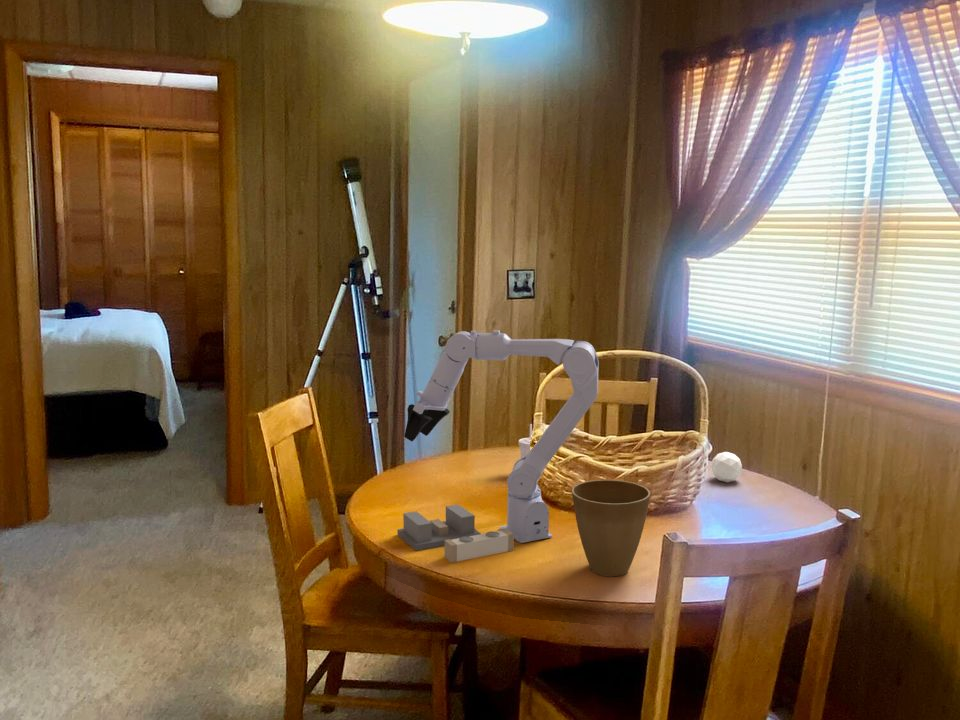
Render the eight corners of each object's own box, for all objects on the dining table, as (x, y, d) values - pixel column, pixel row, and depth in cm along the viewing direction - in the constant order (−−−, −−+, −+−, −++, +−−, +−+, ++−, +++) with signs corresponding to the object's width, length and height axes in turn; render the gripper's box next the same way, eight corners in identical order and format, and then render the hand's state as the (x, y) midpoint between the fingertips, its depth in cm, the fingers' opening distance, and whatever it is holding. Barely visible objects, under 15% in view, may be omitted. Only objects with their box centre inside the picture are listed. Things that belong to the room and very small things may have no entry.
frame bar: (513, 550, 176) (513, 533, 175) (451, 562, 169) (451, 545, 169) (505, 545, 179) (506, 528, 178) (444, 557, 172) (444, 539, 171)
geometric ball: (727, 488, 225) (742, 463, 226) (735, 487, 217) (751, 460, 218) (702, 473, 226) (717, 447, 227) (709, 470, 218) (725, 444, 219)
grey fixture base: (459, 523, 191) (460, 502, 190) (480, 538, 182) (480, 516, 181) (397, 534, 184) (397, 512, 183) (416, 550, 175) (415, 527, 174)
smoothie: (542, 473, 228) (543, 422, 226) (541, 480, 222) (542, 428, 220) (518, 472, 229) (519, 421, 226) (517, 479, 223) (517, 427, 220)
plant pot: (640, 554, 174) (643, 479, 171) (652, 586, 159) (656, 504, 157) (567, 553, 175) (569, 477, 172) (572, 584, 160) (574, 502, 157)
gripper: (440, 370, 191) (414, 421, 194) (413, 376, 178) (386, 431, 181) (466, 386, 189) (440, 438, 193) (441, 393, 176) (413, 449, 179)
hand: (415, 436), depth 187 cm, fingers open, 7 cm apart
